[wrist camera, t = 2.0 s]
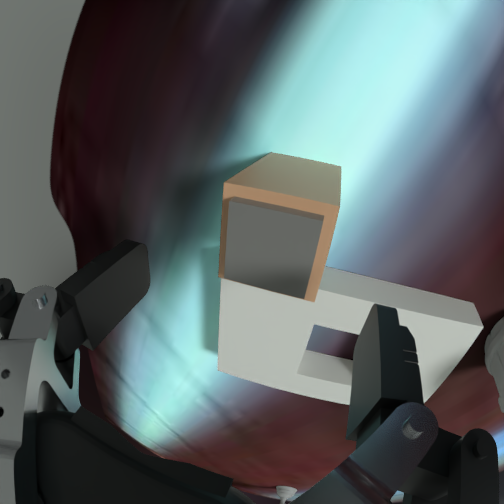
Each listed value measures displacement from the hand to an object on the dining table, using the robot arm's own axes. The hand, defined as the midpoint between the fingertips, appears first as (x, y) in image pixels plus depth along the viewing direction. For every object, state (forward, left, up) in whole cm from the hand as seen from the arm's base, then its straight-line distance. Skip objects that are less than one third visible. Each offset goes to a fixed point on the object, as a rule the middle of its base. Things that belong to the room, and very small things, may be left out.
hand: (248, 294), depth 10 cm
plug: (0, 0, -11) cm, 11 cm away
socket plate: (+11, +6, -11) cm, 17 cm away
